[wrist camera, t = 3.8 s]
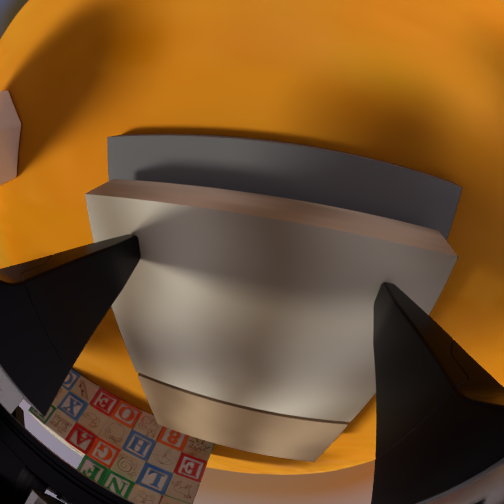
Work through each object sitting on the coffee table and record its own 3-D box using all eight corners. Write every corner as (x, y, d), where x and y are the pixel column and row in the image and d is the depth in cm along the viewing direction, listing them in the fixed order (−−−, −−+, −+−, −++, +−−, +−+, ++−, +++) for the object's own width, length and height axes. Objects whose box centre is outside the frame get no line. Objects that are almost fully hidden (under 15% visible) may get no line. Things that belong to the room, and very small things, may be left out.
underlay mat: (163, 404, 23) (159, 411, 22) (119, 134, 12) (107, 137, 11) (322, 441, 21) (322, 449, 20) (452, 182, 9) (462, 187, 8)
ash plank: (149, 350, 17) (136, 371, 16) (114, 178, 11) (85, 193, 9) (351, 396, 15) (350, 421, 13) (438, 230, 9) (458, 256, 7)
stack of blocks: (75, 384, 29) (33, 441, 19) (64, 361, 26) (14, 425, 16) (209, 452, 28) (180, 526, 17) (217, 440, 25) (183, 528, 14)
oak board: (166, 407, 21) (157, 423, 19) (150, 355, 17) (137, 375, 16) (316, 443, 19) (314, 461, 17) (348, 400, 15) (348, 424, 14)
